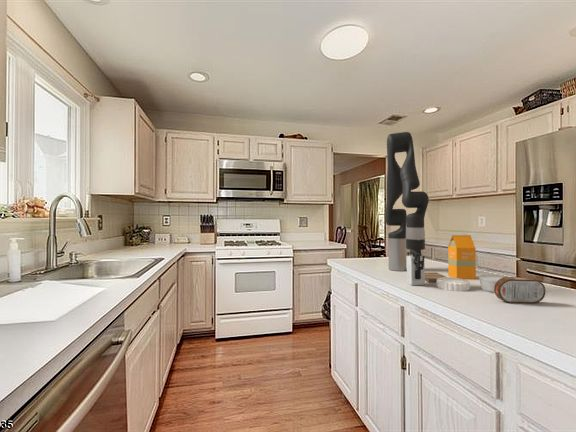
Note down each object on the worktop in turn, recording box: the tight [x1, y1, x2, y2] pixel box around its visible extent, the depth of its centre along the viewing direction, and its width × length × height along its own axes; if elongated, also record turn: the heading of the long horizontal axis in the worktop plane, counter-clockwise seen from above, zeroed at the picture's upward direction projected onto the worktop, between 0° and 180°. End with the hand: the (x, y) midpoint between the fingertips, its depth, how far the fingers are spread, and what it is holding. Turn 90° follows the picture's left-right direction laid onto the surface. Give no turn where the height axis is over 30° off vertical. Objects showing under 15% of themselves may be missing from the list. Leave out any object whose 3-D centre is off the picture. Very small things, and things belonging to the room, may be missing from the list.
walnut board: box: [425, 271, 447, 284], centre depth 140 cm, size 16×10×2 cm, turn 176°
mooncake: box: [436, 276, 471, 292], centre depth 123 cm, size 12×12×4 cm
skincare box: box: [406, 255, 426, 286], centre depth 128 cm, size 6×4×12 cm
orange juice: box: [447, 234, 477, 280], centre depth 143 cm, size 8×9×20 cm
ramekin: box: [478, 274, 506, 294], centre depth 117 cm, size 11×11×5 cm
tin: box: [494, 276, 546, 304], centre depth 101 cm, size 15×3×8 cm, turn 84°
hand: (415, 277), depth 128 cm, fingers closed on skincare box, 4 cm apart
